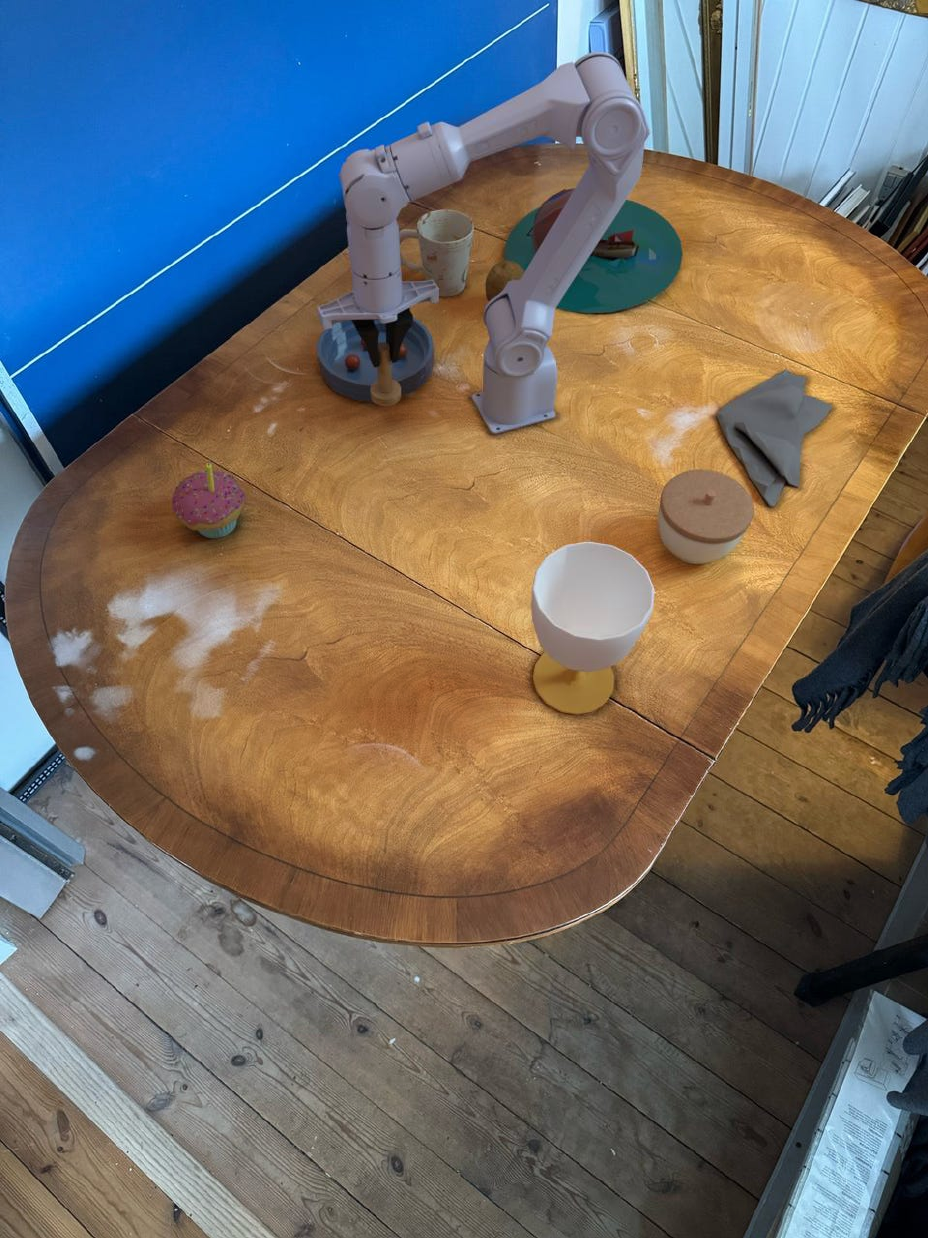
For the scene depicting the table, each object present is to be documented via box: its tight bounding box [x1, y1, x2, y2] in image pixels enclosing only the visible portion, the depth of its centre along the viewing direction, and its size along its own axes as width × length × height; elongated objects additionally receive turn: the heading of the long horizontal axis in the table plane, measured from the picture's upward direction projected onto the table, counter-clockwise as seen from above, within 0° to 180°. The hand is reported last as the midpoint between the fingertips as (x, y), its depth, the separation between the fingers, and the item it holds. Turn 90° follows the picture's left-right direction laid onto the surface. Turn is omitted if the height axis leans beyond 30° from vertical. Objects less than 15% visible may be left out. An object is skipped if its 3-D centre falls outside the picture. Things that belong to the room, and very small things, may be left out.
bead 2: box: [361, 338, 367, 349], centre depth 128 cm, size 2×2×2 cm
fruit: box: [485, 260, 524, 302], centre depth 131 cm, size 6×6×8 cm
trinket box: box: [657, 468, 755, 565], centre depth 106 cm, size 11×11×9 cm
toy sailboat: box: [504, 187, 683, 314], centre depth 138 cm, size 28×28×11 cm
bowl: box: [316, 316, 435, 403], centre depth 126 cm, size 16×16×4 cm
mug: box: [399, 209, 475, 298], centre depth 134 cm, size 8×13×10 cm, turn 78°
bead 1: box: [345, 354, 360, 370], centre depth 125 cm, size 2×2×2 cm
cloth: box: [716, 368, 833, 508], centre depth 120 cm, size 26×14×2 cm, turn 151°
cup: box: [530, 541, 656, 715], centre depth 92 cm, size 12×12×17 cm
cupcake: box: [171, 459, 246, 539], centre depth 106 cm, size 9×8×12 cm
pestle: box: [371, 342, 402, 407], centre depth 114 cm, size 4×4×8 cm
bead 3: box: [398, 343, 407, 359], centre depth 127 cm, size 2×2×2 cm
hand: (383, 359), depth 113 cm, fingers closed on pestle, 2 cm apart
